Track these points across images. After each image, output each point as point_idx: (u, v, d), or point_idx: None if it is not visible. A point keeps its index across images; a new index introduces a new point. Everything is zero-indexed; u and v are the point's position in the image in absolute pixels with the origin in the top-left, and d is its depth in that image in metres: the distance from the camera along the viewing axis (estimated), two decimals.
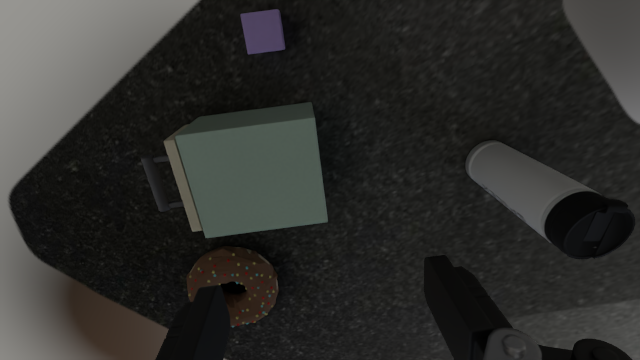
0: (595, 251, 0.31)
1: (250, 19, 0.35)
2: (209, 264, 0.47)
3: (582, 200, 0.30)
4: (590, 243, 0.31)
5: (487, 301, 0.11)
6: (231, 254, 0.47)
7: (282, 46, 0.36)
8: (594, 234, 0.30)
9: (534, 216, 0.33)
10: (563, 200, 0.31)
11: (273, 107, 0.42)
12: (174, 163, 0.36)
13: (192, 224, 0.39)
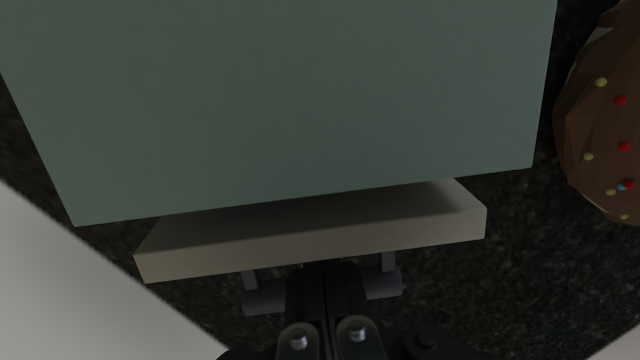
0: None
1: None
2: (609, 161, 0.15)
3: None
4: None
5: (360, 292, 0.12)
6: (600, 87, 0.14)
7: None
8: None
9: None
10: None
11: None
12: (220, 263, 0.11)
13: (456, 235, 0.11)
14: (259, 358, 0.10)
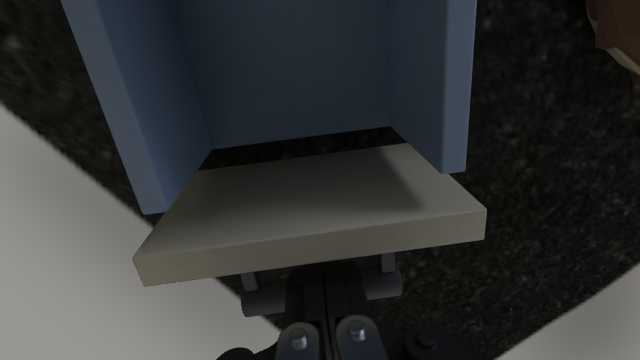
0: None
1: None
2: None
3: None
4: None
5: (360, 292, 0.12)
6: None
7: None
8: None
9: None
10: None
11: None
12: (220, 265, 0.11)
13: (456, 236, 0.11)
14: (259, 357, 0.10)
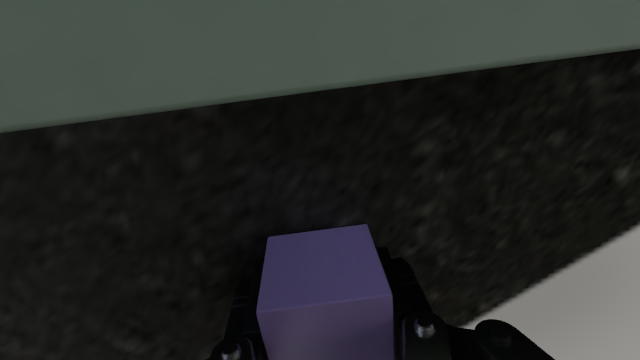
0: None
1: None
2: None
3: None
4: None
5: (415, 288, 0.11)
6: None
7: (262, 320, 0.10)
8: None
9: None
10: None
11: None
12: None
13: None
14: None
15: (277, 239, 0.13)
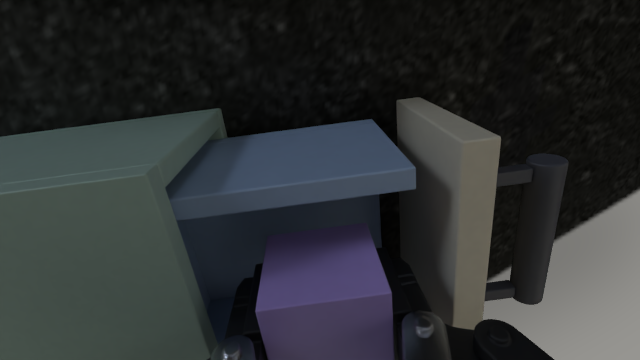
0: None
1: None
2: None
3: None
4: None
5: (415, 288, 0.11)
6: None
7: (261, 319, 0.10)
8: None
9: None
10: None
11: None
12: None
13: (489, 168, 0.10)
14: None
15: (276, 238, 0.13)
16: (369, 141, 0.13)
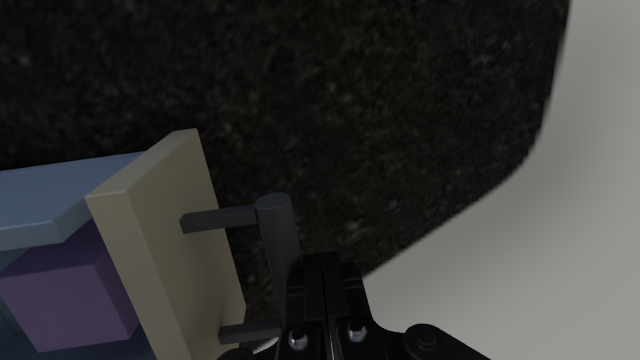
0: None
1: (101, 332, 0.14)
2: None
3: None
4: None
5: (360, 292, 0.12)
6: None
7: None
8: None
9: None
10: None
11: None
12: None
13: (126, 222, 0.10)
14: (259, 358, 0.10)
15: None
16: (85, 182, 0.13)
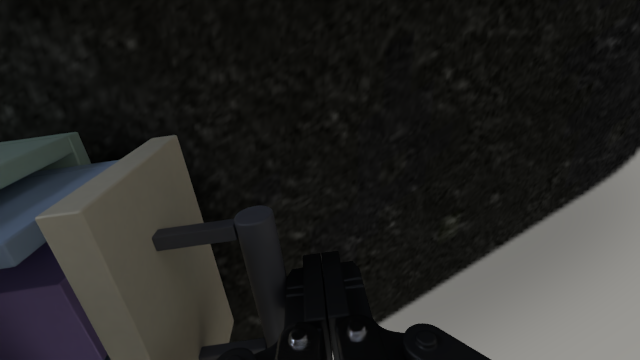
0: None
1: (72, 355, 0.13)
2: None
3: None
4: None
5: (360, 292, 0.12)
6: None
7: None
8: None
9: None
10: None
11: None
12: None
13: (83, 245, 0.09)
14: (259, 358, 0.10)
15: None
16: (50, 196, 0.12)
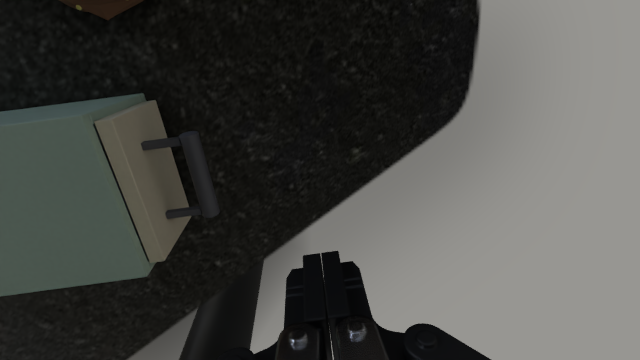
0: None
1: None
2: None
3: None
4: None
5: (360, 292, 0.12)
6: (81, 6, 0.23)
7: None
8: None
9: None
10: None
11: None
12: (148, 233, 0.25)
13: (112, 134, 0.22)
14: (259, 358, 0.10)
15: None
16: (93, 124, 0.25)
